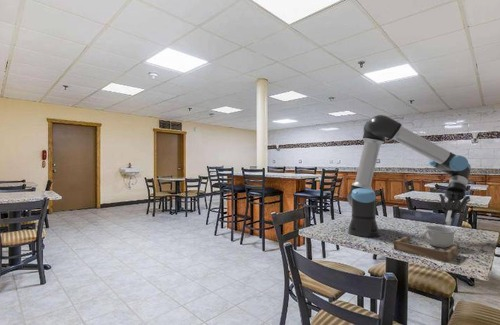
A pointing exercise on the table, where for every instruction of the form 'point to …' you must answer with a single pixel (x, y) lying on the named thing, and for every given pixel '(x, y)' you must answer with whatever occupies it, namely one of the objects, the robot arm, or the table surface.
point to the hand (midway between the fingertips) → (447, 223)
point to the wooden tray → (425, 250)
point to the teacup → (438, 236)
